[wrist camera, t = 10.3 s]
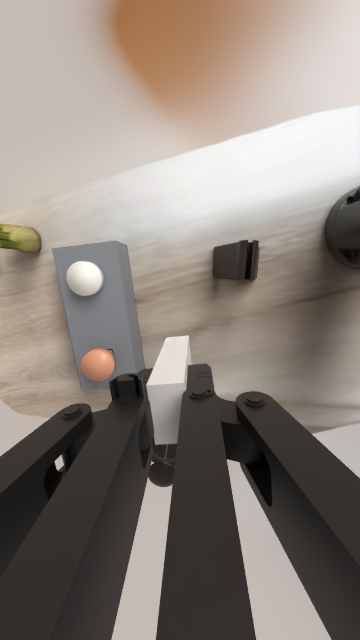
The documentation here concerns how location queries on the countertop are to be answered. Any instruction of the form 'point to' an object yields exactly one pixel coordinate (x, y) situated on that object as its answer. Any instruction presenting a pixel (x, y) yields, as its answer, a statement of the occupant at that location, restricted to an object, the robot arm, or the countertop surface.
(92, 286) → the white rounded knob
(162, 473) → the french press
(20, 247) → the fennel bulb
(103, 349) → the orange ball knob
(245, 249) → the phone stand
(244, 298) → the countertop surface
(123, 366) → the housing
